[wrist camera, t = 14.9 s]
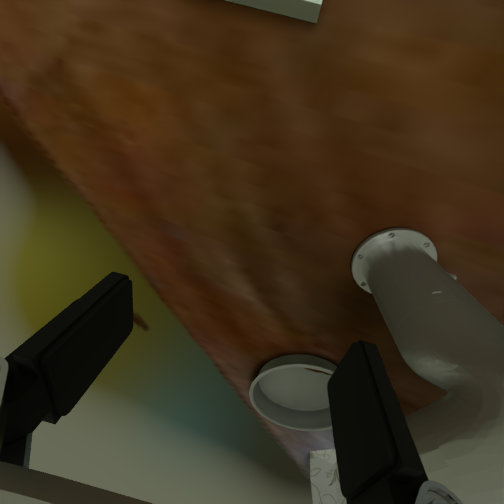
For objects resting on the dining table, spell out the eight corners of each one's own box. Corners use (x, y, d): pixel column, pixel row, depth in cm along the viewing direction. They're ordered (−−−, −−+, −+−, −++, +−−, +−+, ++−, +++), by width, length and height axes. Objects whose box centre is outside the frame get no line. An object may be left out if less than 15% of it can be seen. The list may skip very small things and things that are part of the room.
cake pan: (369, 404, 58) (375, 424, 55) (279, 418, 67) (278, 436, 63) (332, 336, 50) (335, 354, 46) (233, 362, 58) (229, 379, 54)
